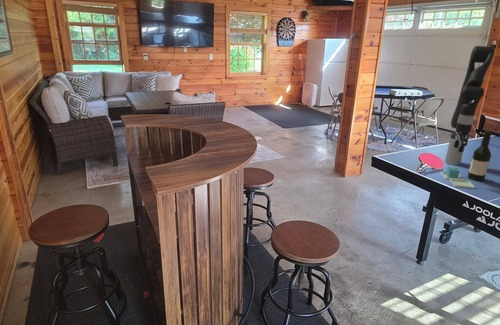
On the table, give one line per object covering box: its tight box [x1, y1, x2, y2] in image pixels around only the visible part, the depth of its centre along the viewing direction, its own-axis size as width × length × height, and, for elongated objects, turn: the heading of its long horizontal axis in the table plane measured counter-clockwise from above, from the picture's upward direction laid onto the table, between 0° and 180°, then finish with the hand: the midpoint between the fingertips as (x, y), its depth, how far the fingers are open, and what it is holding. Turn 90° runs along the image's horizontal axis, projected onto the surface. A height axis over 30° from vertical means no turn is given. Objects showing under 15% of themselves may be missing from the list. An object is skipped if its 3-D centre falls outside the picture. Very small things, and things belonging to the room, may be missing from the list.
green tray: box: [449, 179, 476, 190], centre depth 186 cm, size 10×10×1 cm
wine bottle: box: [467, 129, 492, 182], centre depth 189 cm, size 8×8×30 cm
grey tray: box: [440, 171, 466, 181], centre depth 196 cm, size 10×10×1 cm
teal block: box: [446, 166, 461, 179], centre depth 196 cm, size 5×5×5 cm
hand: (458, 149), depth 191 cm, fingers open, 8 cm apart
